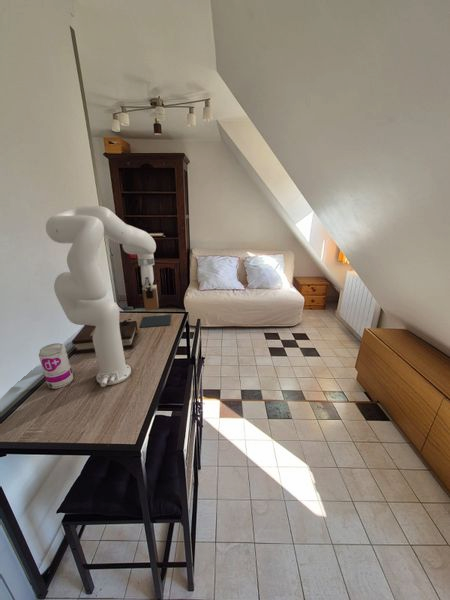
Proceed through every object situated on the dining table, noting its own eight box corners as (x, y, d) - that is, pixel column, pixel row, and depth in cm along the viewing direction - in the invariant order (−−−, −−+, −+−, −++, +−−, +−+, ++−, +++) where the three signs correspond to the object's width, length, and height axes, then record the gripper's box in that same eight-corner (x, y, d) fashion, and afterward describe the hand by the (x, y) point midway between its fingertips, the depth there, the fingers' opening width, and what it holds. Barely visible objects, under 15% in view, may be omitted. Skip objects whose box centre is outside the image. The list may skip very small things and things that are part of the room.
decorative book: (80, 322, 127) (141, 318, 132) (83, 336, 130) (143, 330, 135) (64, 341, 109) (135, 334, 114) (68, 356, 112) (137, 349, 117)
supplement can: (68, 388, 92) (58, 353, 86) (43, 391, 90) (32, 355, 85) (77, 374, 99) (68, 341, 94) (54, 377, 98) (44, 343, 93)
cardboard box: (158, 309, 130) (155, 287, 126) (145, 310, 129) (142, 288, 125) (158, 306, 135) (156, 284, 130) (146, 307, 134) (143, 285, 129)
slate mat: (169, 325, 141) (169, 324, 140) (140, 327, 138) (140, 326, 138) (170, 315, 154) (170, 314, 153) (143, 317, 151) (143, 316, 151)
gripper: (141, 258, 130) (145, 291, 137) (135, 265, 115) (140, 302, 121) (155, 258, 131) (159, 290, 138) (152, 265, 116) (156, 301, 122)
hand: (150, 296), depth 129 cm, fingers closed on cardboard box, 5 cm apart
